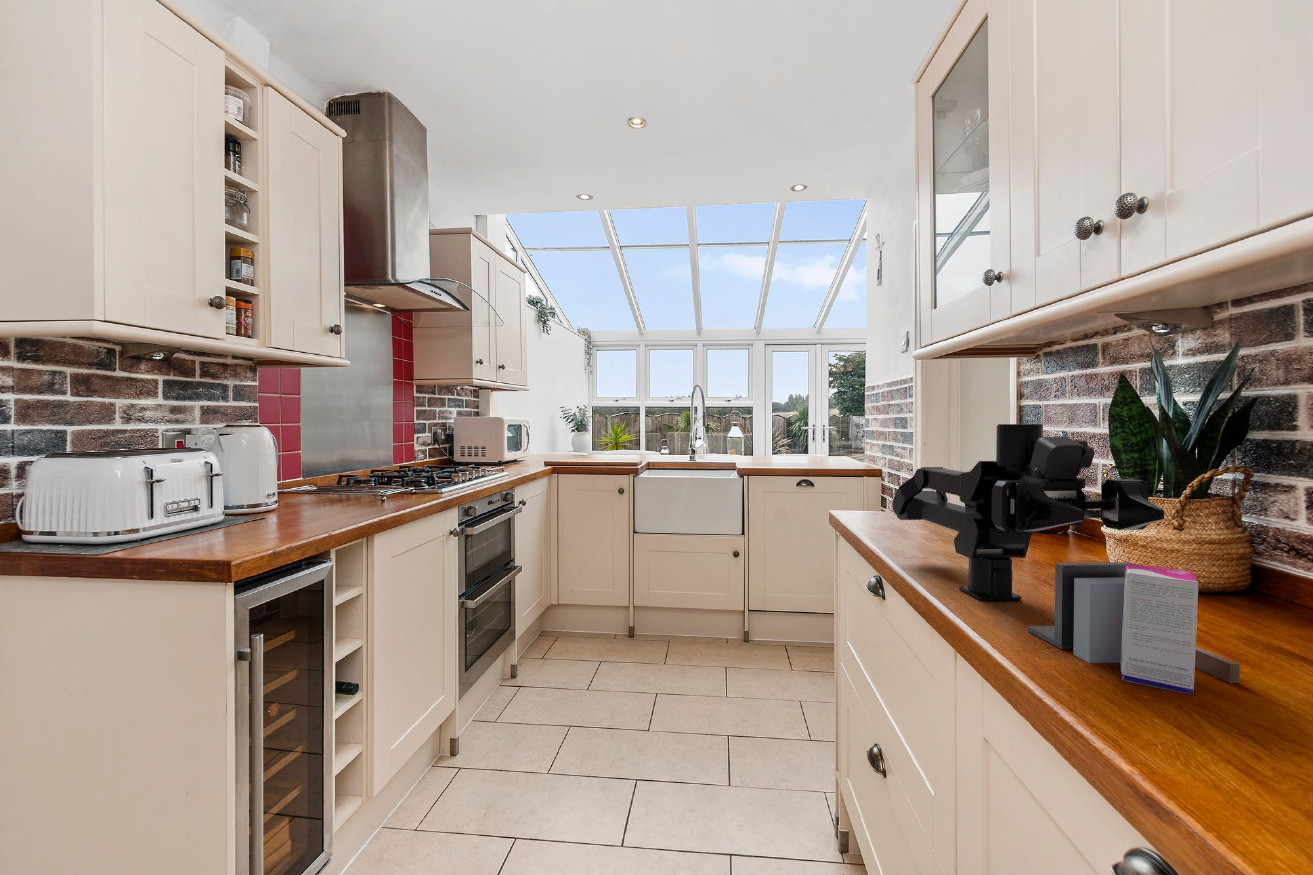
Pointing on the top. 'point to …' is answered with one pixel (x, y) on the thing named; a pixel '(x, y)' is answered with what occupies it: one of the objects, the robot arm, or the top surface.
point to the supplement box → (1159, 627)
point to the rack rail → (1217, 666)
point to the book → (1098, 619)
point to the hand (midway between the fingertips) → (1123, 515)
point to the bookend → (1072, 598)
